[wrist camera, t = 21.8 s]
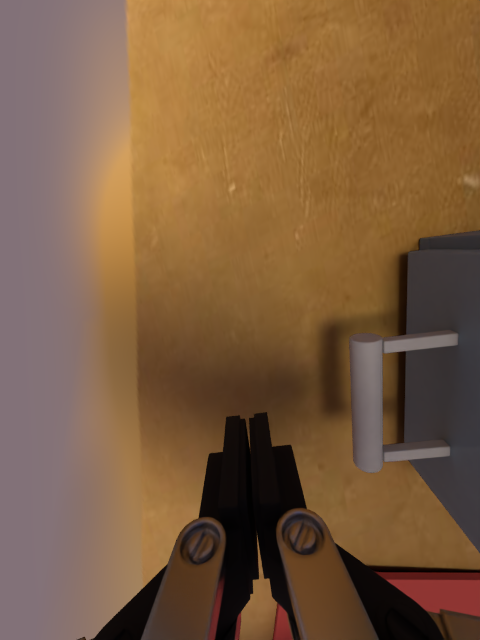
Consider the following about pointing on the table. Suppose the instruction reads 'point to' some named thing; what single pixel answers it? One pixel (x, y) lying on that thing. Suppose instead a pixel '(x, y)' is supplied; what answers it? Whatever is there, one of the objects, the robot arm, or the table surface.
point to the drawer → (429, 383)
